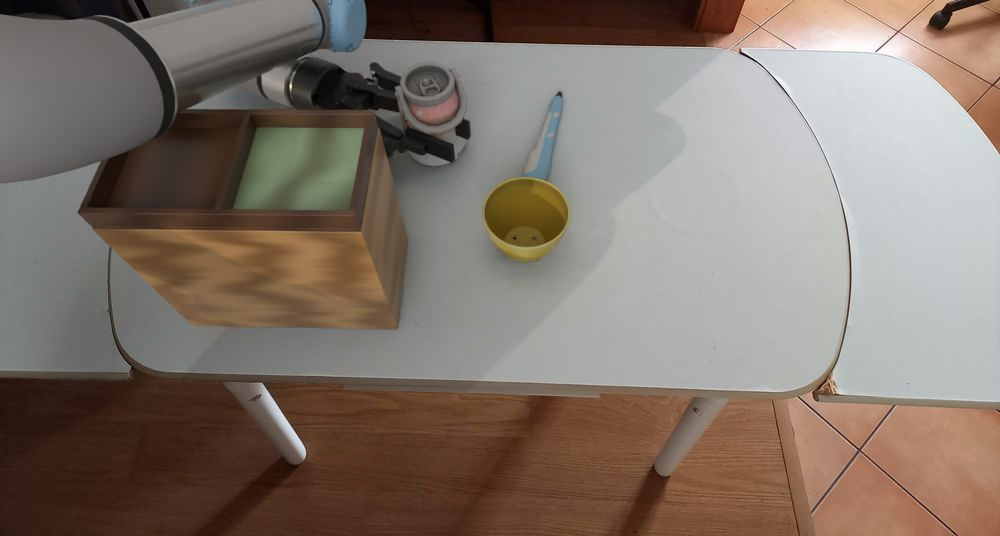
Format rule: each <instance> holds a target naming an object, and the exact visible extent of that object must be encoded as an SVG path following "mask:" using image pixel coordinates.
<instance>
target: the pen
mask: <svg viewBox="0 0 1000 536" xmlns="http://www.w3.org/2000/svg"><path fill="white" fill-rule="evenodd" d="M563 101H564V100H563V92H562V90H560V91H557V93H556V95H554V97H553V99H552V101H551V103H550V105H549V108H548V111H547V113H546V116H545V119H544V122H543V125H542V128H541V131H540V133H539V136H538V139H537V141H536V143H535V145H534V147H533V149H532V150H531V151H530V152H529V154H528V155H527V158H526V162H525V165H524V167H523V170H522V175H521V177H533V178H538V179H541V180H544V181H547V177H548V174H549V170H550V167H551V163H552V159H551V158H552V153H553V148H554V143H555V140H556V135H557V131H558V126H559V123H560V119H561V113H562V110H563Z"/></svg>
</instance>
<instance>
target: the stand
mask: <svg viewBox="0 0 1000 536" xmlns="http://www.w3.org/2000/svg"><path fill="white" fill-rule="evenodd" d="M399 201H400V200H399V198H398V193H397V190H396V186H395V182H394V179H393V174H392V171H391V166H390V163H389V158H387V155H386V151H385V147H384V143H383V140H382V136H381V132H380V128H378V132H377V138H376V144H375V150H374V156H373V162H372V168H371V174H370V180H369V186H368V192H367V198H366V204H365V210H364V216H363V222H362V228H361V232H344V231H260V230H176V229H94V228H92V231H93V232H94V233H95V234H96V235H97V236H99V238H101V239H102V241H104V242H105V243H106V245H108V246H109V247H110V248H111V249H112V250H113V251H114V252H115V253H116V254H117V255H118V256H119V257H120V258H121V259H122V260H123V261H125V263H127V265H129V266H130V267H131V269H133V270H134V271H135V272H136V273H137V274H138V275H139V276H140V277H141V278H142V279H143V280H144V281H145V282H146V283H147V284H148V285H150V287H152V288H153V289H154V290H155V291H156V292H157V293H158V294H159V296H161V297H162V298H163V299H164V300H165V301H166V302H167V303H168V304H170V305H171V307H173V308H174V309H175V311H177V312H178V313H179V314H180V315H181V316H182V318H184V319H185V320H186V321H187V322H188V323H189V324H190V325H191V326H193V327H233V328H234V327H237V328H239V327H241V328H243V327H244V328H293V329H294V328H298V329H299V328H300V329H301V328H303V329H306V328H307V329H360V330H361V329H362V330H363V329H364V330H365V329H367V330H398V329H399V324H400V315H401V307H402V299H403V292H404V291H403V290H404V281H405V274H406V273H405V272H406V263H407V258H408V257H407V256H408V247H409V236H408V232H407V228H406V224H405V221H404V217H403V213H402V210H401V209H402V208H401V205H400V202H399Z"/></svg>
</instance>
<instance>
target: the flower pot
mask: <svg viewBox="0 0 1000 536" xmlns="http://www.w3.org/2000/svg"><path fill="white" fill-rule="evenodd" d="M571 213H572V212H571V207H570V203H569V201H568V199H567V197H566V196H565V194H564V192H563V191H562V190H561V189H559V188H558V186H556V185H554V184H553V183H552V182H549V181H547V180H546V181H544V180H541V179H538V178H533V177H522V176H520V177H513V178H510V179H507V180H505V181H502V182H500V183H499V184H498V185H497V184H496V186H494V188H492V189H491V190H490V192H489V193H487V196H486V198H485V199H484V202H483V205H482V219H483V224H484V227H485V229H486V232H487V235H488V237H489V238H490V240H491V241H492V243H493V244H494V246H495V247H496V248H497V249H498V250H499V252H501V253H502V254H503V255H504V256H506V257H507V258H509V259H511V260H513V261H515V262H520V263H531V262H535V261H538V260H541V259H542V258H543V257H545V256H546V255H548V254H549V253H551V252H552V251H553V250H554V249H555V248H556V246H557V245H558V244H559V243H560V241H561V240H562V238H563V237H564V235H565V233H566V231H567V229H568V226H569V224H570V221H571ZM514 238H515V239H514ZM533 238H534V239H533Z"/></svg>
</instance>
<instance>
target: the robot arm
mask: <svg viewBox="0 0 1000 536" xmlns="http://www.w3.org/2000/svg"><path fill="white" fill-rule="evenodd" d="M184 2H185V3H186V5H187V6H188V8H185V9H181V10H176V11H173V12H168V13H164V14H160V15H157V16H152V17H151V16H150V17H147V18H144V19H139V20H135V21H132V22H126V21H124V20H121V19H119V18H116V17H113V16H110V15H102V14H101V15H99V14H98V15H90V16H84V17H81V18H76V19H64V20H63V19H61V20H59V19H41V18H40V19H39V18H30V17H23V16H15V15H7V14H1V13H0V185H3V184H12V183H19V182H27V181H28V182H30V181H34V180H38V179H39V180H40V179H43V178H44V179H45V178H47V177H52V176H56V175H60V174H64V173H68V172H70V171H74V170H79V169H82V168H85V167H88V166H91V165H94V164H97V163H100V162H101V161H103V160H106V159H108V158H111V157H114V156H116V155H119V154H121V153H124V152H126V151H129V150H131V149H134V148H136V147H138V146H141V145H142V144H144V143H146V142H148V141H150V140H153V139H155V138H157V137H159V136H160V135H162V134H164V133H165V132H166V131H167V130H168V129H169V128H170V127H171V126H172V124H173V122H174V120H175V117H176V113H179V112H181V111H183V110H185V109H191V108H192V107H194V106H196V105H198V104H201V103H203V102H205V101H207V100H210V99H211V98H214V97H216V96H218V95H221V94H223V93H225V92H227V91H230V90H232V89H233V88H235V89H239V90H242V91H244V92H247V93H250V94H253V95H255V96H258V97H261V98H263V99H266V100H270V101H272V102H273V103H277V104H279V105H281V106H284V107H287V108H290V109H291V110H373V111H376V112H377V111H379V110H383V111H389V112H393V113H399V114H400V111H399V106H398V101H397V97H396V96H395V92H396V90H395V87H396V86H399V85H400V81H401V77H402V75H398V74H396V73H394V72H391V71H389V70H386V69H385V68H383V66H381V65H380V63H378V62H377V61H373V62H370V64H369V70H367V71H365V72H363V73H360V72H355V71H354V72H349V71H347V70H345V69H344V68H342V67H341V66H339V65H338V64H336V63H333V62H332V61H328V60H325V59H322V58H321V57H320V58H319V57H317V56H314V55H312V54H311V53H314V52H317V51H320V50H328V51H331V52H333V53H337V52H339V53H340V52H341V53H353V52H356V51H357V50H358V49H359V47H360V46H361V45H362V42H363V40H364V38H365V35H366V30H367V7H366V4H365V0H184ZM375 118H376V122H377V125H378V128H380V132H381V136H382V140H383V143H384V147H385V151H386V155H387V159H390V158H392V157H394V153H395V152H397V153H398V154H400V155H401V154H405V153H406V152H407V151H410V152H413V153H415V154H418V155H422V156H425V154H426V153H428V154H430V155H433V156H436V157H438V158H441V159H443V160H446V161H449V162H451V163H450V164H453V163H454V162H455V161H456V160H455V152H454V144H452V143H449V142H447V141H444V140H441V139H439V138H436V137H433V136H431V135H428V134H425V133H423V132H420V131H417V130H415V129H412V128H409V127H407V128H406V130H405V134H404V131H403V130H402V129H400V128H398V127H397V126H395V125H393V124H391V123H390V122H388V121H386V120H384V119H383V118H381V117H379V116H378V115H376V114H375ZM471 130H472V129H471V120H469V119H465V118H464V119H463V120H462V122H461V123H460V124H458V125H457V126H456V127H455V133H456V136H459V137H461V138H464V139H466V141H469V140H470V138H471V137H472V132H471ZM454 160H455V161H454Z"/></svg>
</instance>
